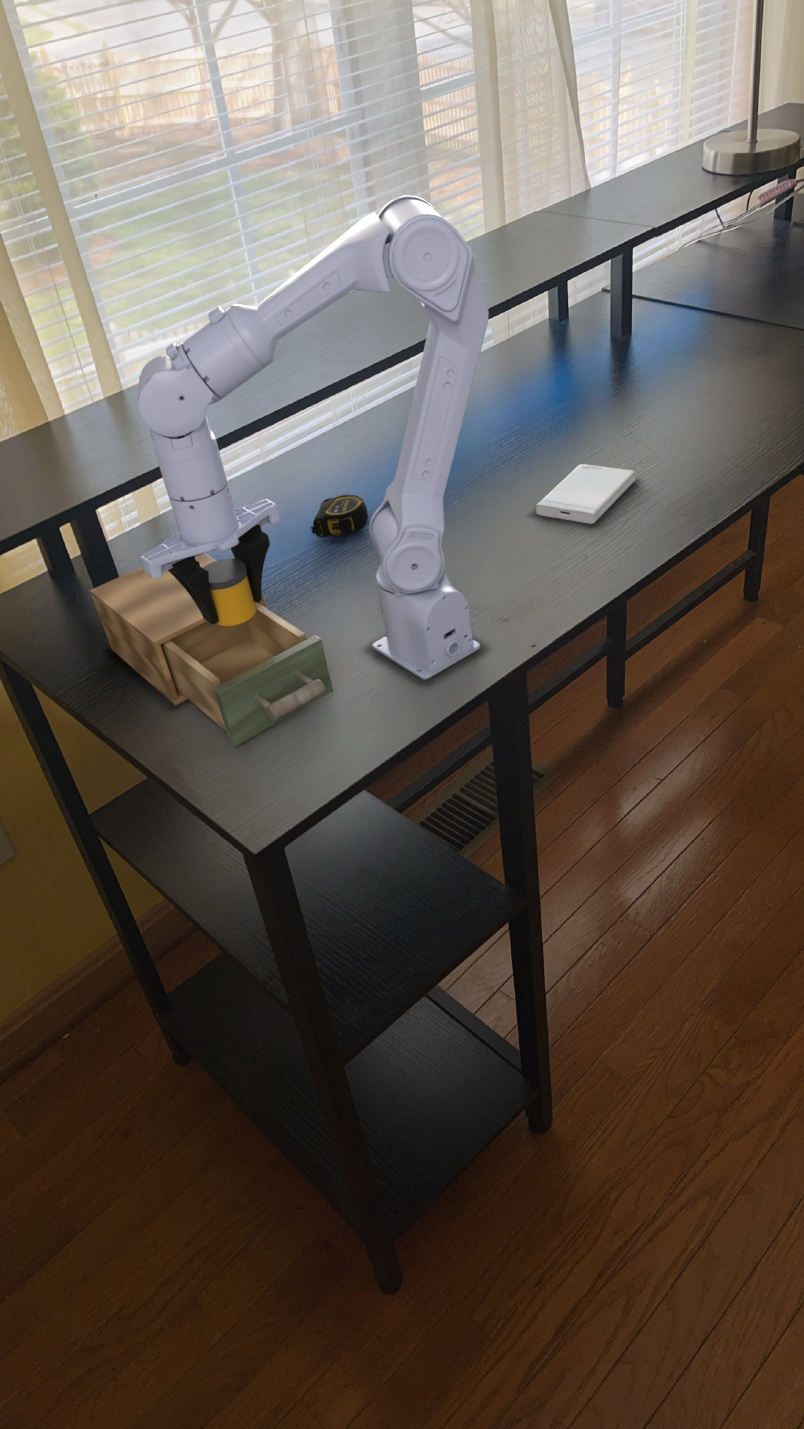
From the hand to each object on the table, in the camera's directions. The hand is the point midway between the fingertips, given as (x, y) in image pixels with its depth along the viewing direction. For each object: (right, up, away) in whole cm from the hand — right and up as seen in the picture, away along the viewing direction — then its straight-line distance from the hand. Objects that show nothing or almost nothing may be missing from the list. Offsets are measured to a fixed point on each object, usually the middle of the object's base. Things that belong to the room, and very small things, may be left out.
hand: (232, 609), depth 106 cm
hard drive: (+42, +17, +29) cm, 54 cm away
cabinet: (-7, -3, +13) cm, 15 cm away
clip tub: (0, 0, 0) cm, 1 cm away
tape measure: (+9, +13, +31) cm, 35 cm away
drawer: (+2, -9, +2) cm, 9 cm away
